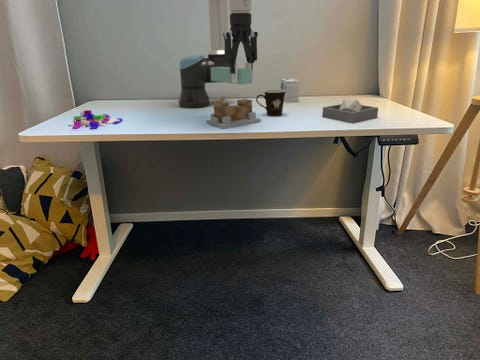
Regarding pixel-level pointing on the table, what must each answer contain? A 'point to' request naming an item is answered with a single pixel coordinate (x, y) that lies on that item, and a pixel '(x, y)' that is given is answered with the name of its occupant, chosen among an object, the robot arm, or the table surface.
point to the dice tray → (350, 114)
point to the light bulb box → (290, 89)
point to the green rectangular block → (225, 76)
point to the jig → (228, 123)
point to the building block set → (88, 119)
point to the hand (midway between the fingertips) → (241, 81)
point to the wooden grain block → (232, 109)
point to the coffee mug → (273, 102)
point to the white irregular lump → (350, 105)
